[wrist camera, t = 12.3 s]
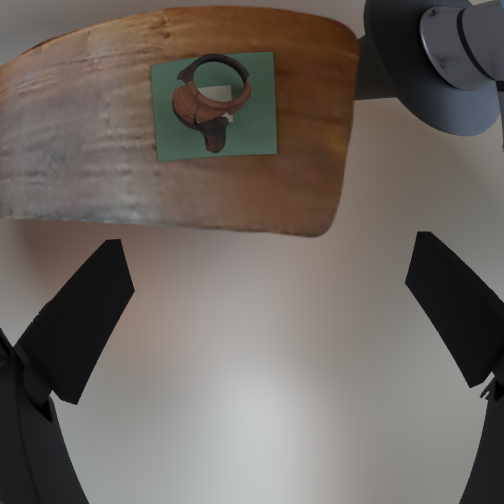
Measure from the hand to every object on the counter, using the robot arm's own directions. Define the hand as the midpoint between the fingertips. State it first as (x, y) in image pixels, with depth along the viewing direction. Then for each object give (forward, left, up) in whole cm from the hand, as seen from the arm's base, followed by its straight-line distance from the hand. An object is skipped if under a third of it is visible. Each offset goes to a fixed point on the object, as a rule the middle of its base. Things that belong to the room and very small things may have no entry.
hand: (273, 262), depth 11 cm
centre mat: (+6, -8, -27) cm, 28 cm away
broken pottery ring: (+6, -8, -26) cm, 28 cm away
